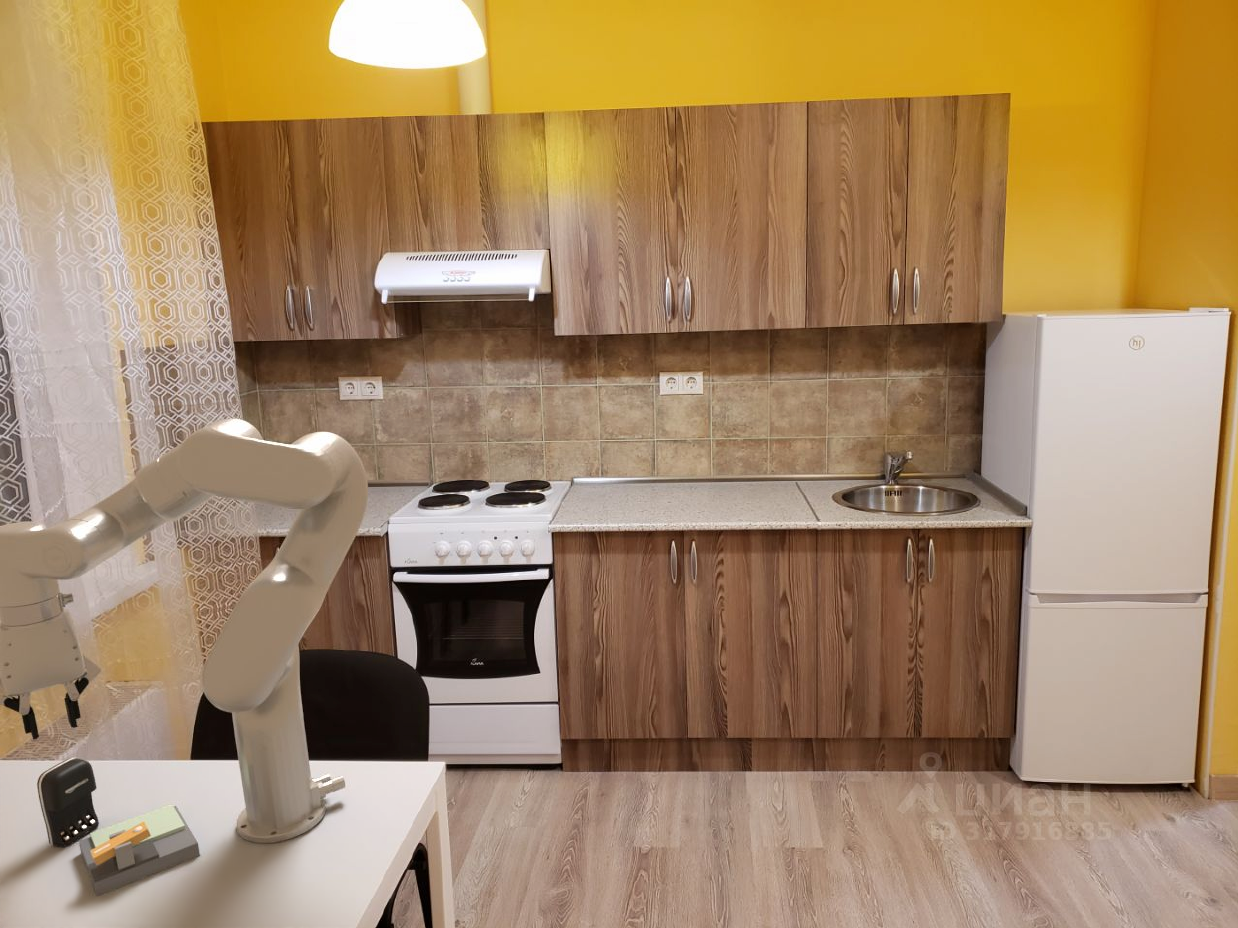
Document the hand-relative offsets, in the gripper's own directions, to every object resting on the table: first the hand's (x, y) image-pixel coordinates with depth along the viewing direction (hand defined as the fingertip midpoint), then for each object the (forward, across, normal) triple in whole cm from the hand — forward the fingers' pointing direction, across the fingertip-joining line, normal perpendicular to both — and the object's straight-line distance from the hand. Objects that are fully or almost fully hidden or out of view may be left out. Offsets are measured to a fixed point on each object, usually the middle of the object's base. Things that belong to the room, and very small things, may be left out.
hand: (54, 728), depth 134 cm
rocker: (+12, -4, +16) cm, 20 cm away
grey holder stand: (+17, -6, +12) cm, 22 cm away
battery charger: (+18, 0, 0) cm, 18 cm away
